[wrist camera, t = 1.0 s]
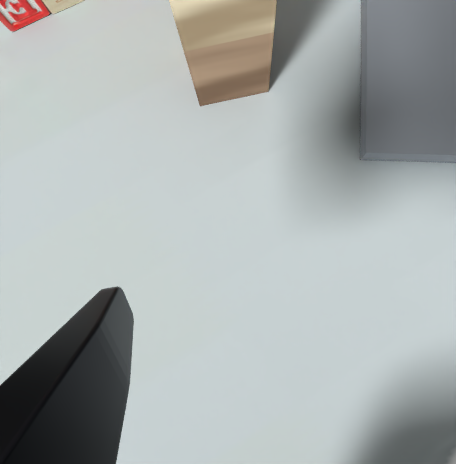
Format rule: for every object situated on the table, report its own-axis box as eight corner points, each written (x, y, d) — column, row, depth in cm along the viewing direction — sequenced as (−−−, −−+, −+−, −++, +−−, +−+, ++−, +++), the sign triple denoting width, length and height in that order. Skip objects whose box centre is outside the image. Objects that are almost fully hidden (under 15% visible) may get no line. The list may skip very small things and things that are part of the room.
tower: (268, 91, 23) (284, -83, 12) (200, 106, 23) (153, -52, 12) (254, 29, 23) (257, -189, 13) (188, 43, 24) (134, -159, 13)
